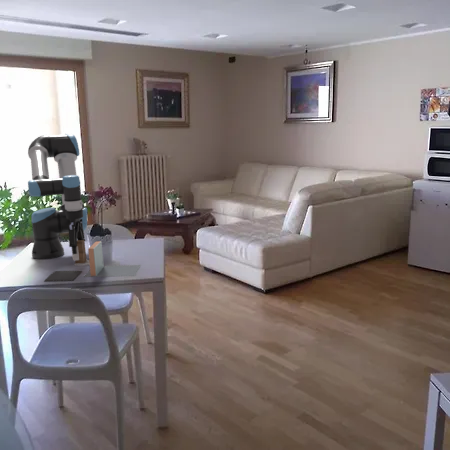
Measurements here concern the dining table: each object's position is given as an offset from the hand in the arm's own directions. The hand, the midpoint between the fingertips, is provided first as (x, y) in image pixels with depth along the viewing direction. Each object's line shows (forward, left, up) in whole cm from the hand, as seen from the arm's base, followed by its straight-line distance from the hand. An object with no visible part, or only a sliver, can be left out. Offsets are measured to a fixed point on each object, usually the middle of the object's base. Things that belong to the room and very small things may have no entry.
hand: (78, 257), depth 218 cm
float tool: (0, +4, -3) cm, 5 cm away
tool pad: (+19, -1, -3) cm, 19 cm away
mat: (+13, +19, -3) cm, 23 cm away
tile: (+13, +12, -3) cm, 18 cm away
